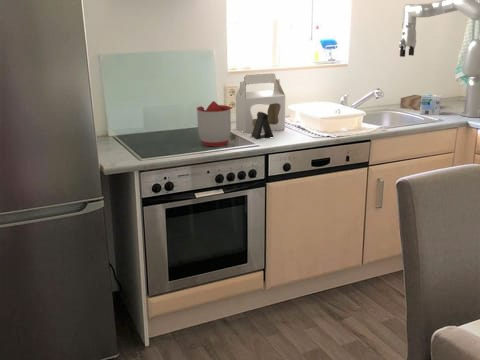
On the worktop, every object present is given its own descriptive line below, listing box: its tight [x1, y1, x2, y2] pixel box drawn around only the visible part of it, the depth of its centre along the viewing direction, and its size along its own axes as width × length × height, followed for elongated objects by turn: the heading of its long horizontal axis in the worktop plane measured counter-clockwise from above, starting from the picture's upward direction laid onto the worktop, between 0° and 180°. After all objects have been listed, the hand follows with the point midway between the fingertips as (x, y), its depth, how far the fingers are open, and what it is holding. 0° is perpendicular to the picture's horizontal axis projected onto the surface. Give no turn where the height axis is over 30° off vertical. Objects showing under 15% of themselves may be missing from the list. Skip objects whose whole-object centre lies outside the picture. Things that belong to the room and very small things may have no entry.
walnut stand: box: [399, 94, 422, 111], centre depth 336 cm, size 16×16×6 cm
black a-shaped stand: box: [251, 111, 274, 140], centre depth 267 cm, size 9×6×12 cm, turn 112°
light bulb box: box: [419, 93, 442, 116], centre depth 317 cm, size 11×7×11 cm, turn 73°
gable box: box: [235, 73, 286, 134], centre depth 282 cm, size 22×13×28 cm, turn 112°
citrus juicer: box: [196, 100, 232, 147], centre depth 254 cm, size 16×17×20 cm
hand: (406, 56), depth 332 cm, fingers open, 9 cm apart
